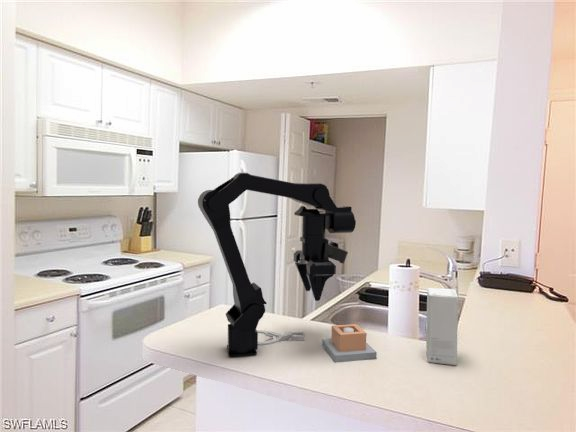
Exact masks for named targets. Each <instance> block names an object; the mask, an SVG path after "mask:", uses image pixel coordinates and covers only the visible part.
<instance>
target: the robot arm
mask: <svg viewBox="0 0 576 432" xmlns="http://www.w3.org/2000/svg"><path fill="white" fill-rule="evenodd" d="M246 191H249V192H256V193H260V194H261V193H262V194H267V195H271V196H272V195H273V196H277V197H282V198H283V197H284V198H287V199H290V200H292V201H295V202H296V203H299V204H302V205H300V207H299V208H298V209H297V210H296V211H295V212H293V213H294V215H295V216H298V217H302V224H301V225H302V226H301V228H302V229H301V233H302V234H301V236H300V237H299V238H300V240H299V241H300V242H301V249H300V250H296V251H295V252H294V253H293V261H294V265H295V266H296V269H297V271H298V275H299V276H300V279H301V282H302V284H303V287H304V290H305V291H306V292H310V291H311V292H312V296H313V299H314V301H316V302H319V301H320V300H321V297H322V294H323V291H324V287H325V285H326V283H327V281H328V279H330V278H332V277H334V275H337V265H335V263H333V262H332V261H331V260H335V261H336V262H337V261H338V262H339V263H340V264H344V263H345V262H346V258H347V256H348V253H349V252H348V251H347V250H346V249H345V250H344V248H343V249H342V248H340V247H339V243H337V242H334V241H330V242H329V240H328V238H326V231H327V232H328V233H329V234H350V233H351V234H352V233H353V232H354V231H355V228H356V225H357V224H356V223H357V222H356V219H355V217H356V216H355V214H354V213H353V211H352V206H347V205H346V206H345V205H343V206H337V205H336V204H335V202H334V201H333V200H334V199H332V198H331V196H330V190H329V188H328V186H327V185H325V184H323V183H320V182H319V183H318V182H317V183H313V182H311V183H309V182H308V183H307V182H305V183H303V182H302V183H301V182H299V183H297V182H289V181H285V180H279V179H274V178H269V177H263V176H259V175H255V174H251V173H248V172H238V173H236V174H235V175H234V176H233V177H231V178H230V179H228V180H226V181H224V182H223V183H222V184H220V185H218V186H217V187H215V188H214V189H208V190H205V191H203V192H202V193H201V194H200V195H199V196H198V199H197V205H198V208H199V210H200V212H201V213H202V215H203V217H204V218H205V220H206V222H207V223H208V224H209V227H210V229H212V232H213V234H214V237H215V239H216V242H217V245H218V247H219V250H220V253H221V256H222V258H223V261H224V264H225V266H226V270H227V273H228V276H229V278H230V282H231V284H232V296H233V303H234V304H233V305H231V307H230V308H229V309H228V311H227V312H226V313H225V317H226V320H227V322H229V323H228V324H227V344H226V349H227V354H228V357H229V358H233V357H236V358H237V357H244V356H245V357H246V356H247V357H248V356H256V355H257V353H258V352H257V350H258V347H259V345H258V342H259V340H258V339H259V338H258V337H259V333H258V332H257V330H258V329H257V328H258V324H259V321H261V319H262V318H263V316H264V315H265V313H266V305H267V302H266V301H265V299H264V296H263V290H262V288H261V287H260V286H259V285H258V284H257V283H255V282H252V283H251V281H250V279H249V275H248V273H247V270H246V267H245V264H244V260H243V258H242V255H241V252H240V249H239V246H238V243H237V240H236V237H235V235H234V232H233V229H232V226H231V224H232V223H231V212H230V204H231V203H233V202H234V201H235V200H236V199H238V198H239V197H240V196H241V195H242V194H243V193H244V192H246ZM306 206H308V207H314V208H307V207H306ZM320 211H325V212H320ZM330 259H331V260H330Z"/></svg>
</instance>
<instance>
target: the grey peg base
mask: <svg viewBox="0 0 576 432" xmlns="http://www.w3.org/2000/svg"><path fill="white" fill-rule="evenodd" d="M347 332H354V329H353V328H349V327H347V328H344V333H347ZM321 346H322V347H323V348H324V350H325V351H326V352H327V354H328V355H329V356H330V358H331V360H333V361H334V363H340V362H351V361H361V360H362V361H363V360H375V359H377V354H378V353H377V351H376V350H375V349H374V348H373V347H372V346H371V345H370V344H368V343H367V342H366V350H357V351H344V352H340V351H339V350H338V349H337V348H336V347H335V345H334V344H333V343H332V342H331V338H323V339H322V340H321Z"/></svg>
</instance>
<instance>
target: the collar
mask: <svg viewBox="0 0 576 432" xmlns="http://www.w3.org/2000/svg"><path fill="white" fill-rule="evenodd" d="M347 327H349V328H353V329H354V332H347V333H344V328H347ZM330 337H331V338H330V339H331V342H332V343H333V344H334V345H335V347H336V348H337V349H338V350H339V351H340V352H344V351H357V350H366V343H367V332H366V331H365V330H364V329H363V328H361V327H360V326H359V325H358V324H357V323H352V324H337V325H331V336H330Z"/></svg>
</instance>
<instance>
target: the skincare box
mask: <svg viewBox="0 0 576 432" xmlns="http://www.w3.org/2000/svg"><path fill="white" fill-rule="evenodd" d="M456 291H457V290H456V289H454V288H440V287H438V288H437V287H427V292H426V298H427V299H426V356H427V357H426V358H427V362H428V363H434V364H441V365H450V366H457V364H458V324H459V323H458V321H459V319H458V318H459V317H458V316H459V314H458V313H459V296H458V294H457V292H456Z"/></svg>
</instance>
